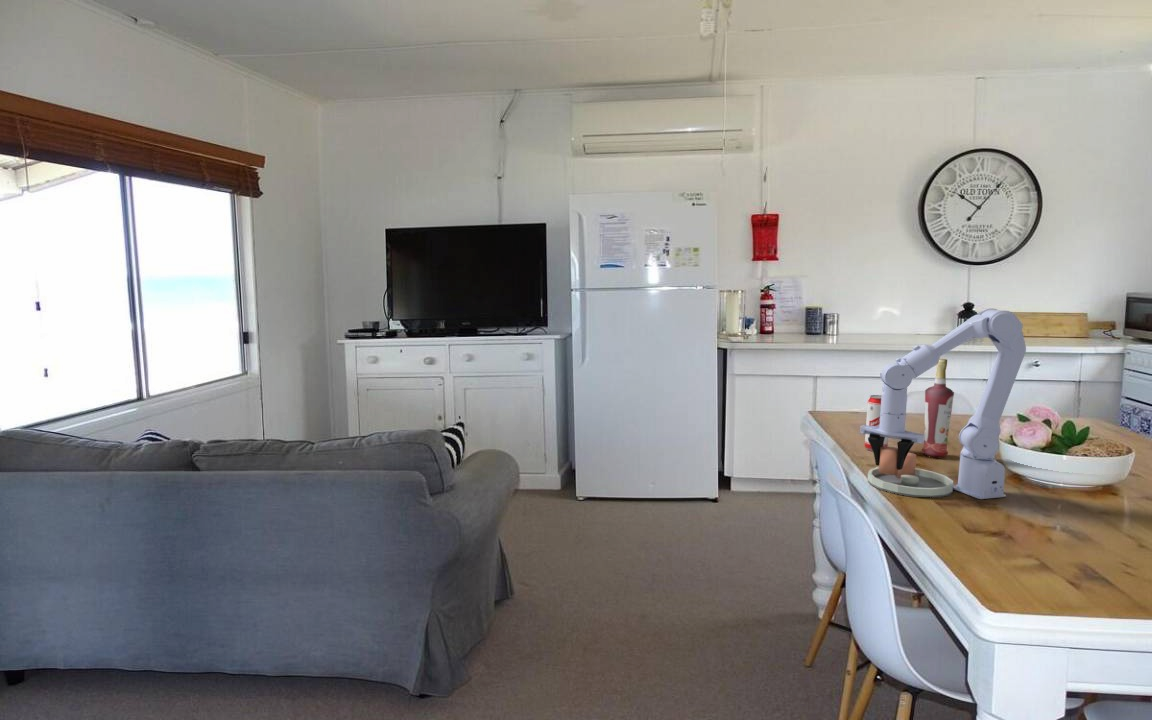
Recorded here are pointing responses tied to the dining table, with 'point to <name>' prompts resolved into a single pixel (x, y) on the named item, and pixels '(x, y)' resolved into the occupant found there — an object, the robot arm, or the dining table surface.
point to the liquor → (937, 414)
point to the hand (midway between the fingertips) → (889, 466)
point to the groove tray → (921, 484)
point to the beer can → (873, 417)
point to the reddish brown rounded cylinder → (888, 460)
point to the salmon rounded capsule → (908, 466)
